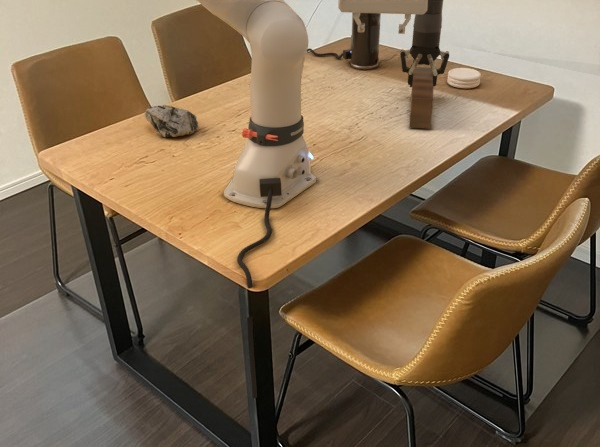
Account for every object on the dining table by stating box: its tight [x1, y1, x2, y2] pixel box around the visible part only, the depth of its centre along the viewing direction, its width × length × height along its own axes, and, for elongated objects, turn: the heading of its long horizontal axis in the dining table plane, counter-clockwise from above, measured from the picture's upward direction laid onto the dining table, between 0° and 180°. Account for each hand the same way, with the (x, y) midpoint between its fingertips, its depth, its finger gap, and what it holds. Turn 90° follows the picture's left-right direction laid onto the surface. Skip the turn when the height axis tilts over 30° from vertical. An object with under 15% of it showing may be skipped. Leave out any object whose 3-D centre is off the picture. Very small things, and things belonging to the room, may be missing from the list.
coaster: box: [446, 67, 482, 89], centre depth 192 cm, size 10×10×4 cm
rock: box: [144, 104, 199, 138], centre depth 165 cm, size 15×10×7 cm
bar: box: [408, 66, 434, 130], centre depth 173 cm, size 25×6×8 cm, turn 170°
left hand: (381, 32), depth 145 cm, fingers open, 8 cm apart
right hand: (421, 86), depth 180 cm, fingers closed on bar, 5 cm apart
